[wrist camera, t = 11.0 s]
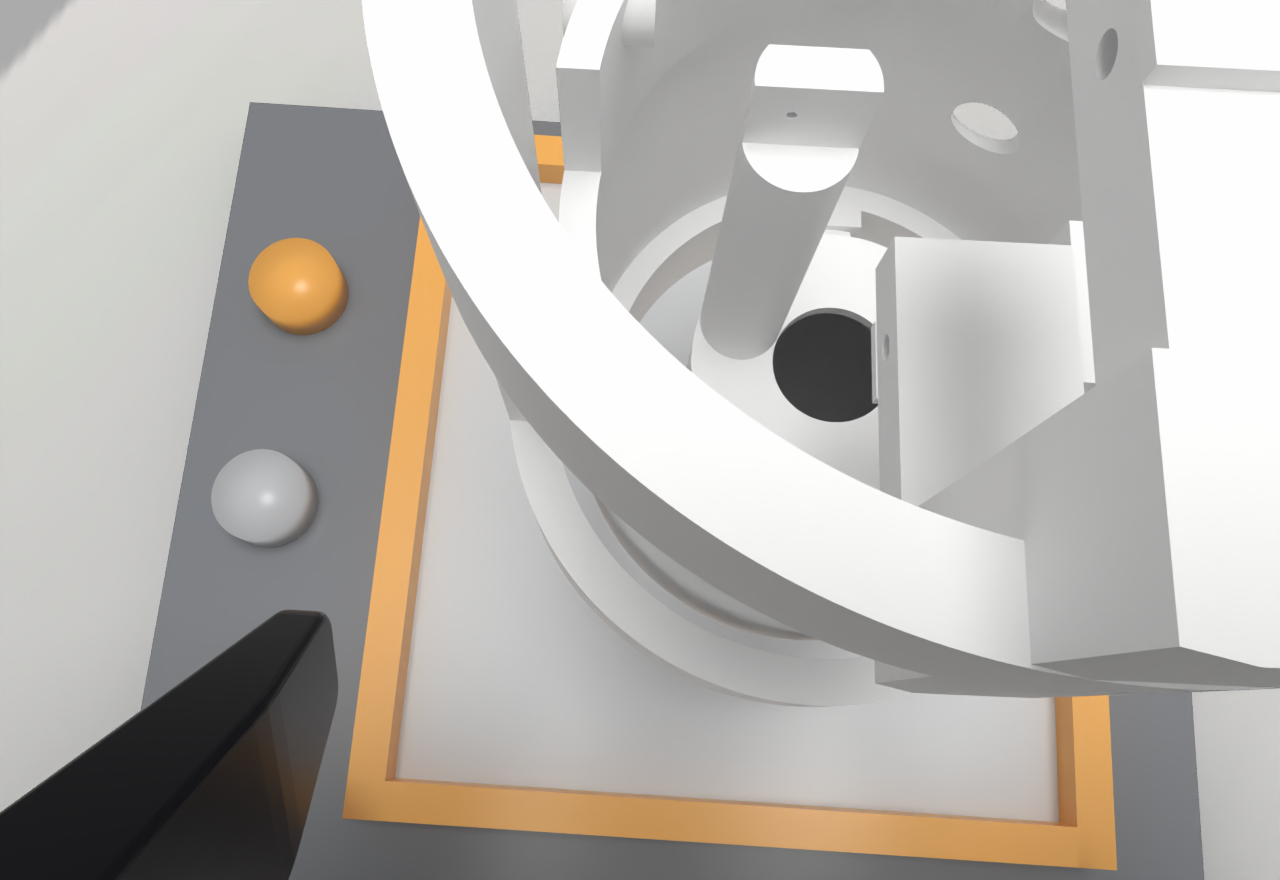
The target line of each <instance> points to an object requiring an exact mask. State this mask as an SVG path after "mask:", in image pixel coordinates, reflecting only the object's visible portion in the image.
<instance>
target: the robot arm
mask: <svg viewBox="0 0 1280 880" xmlns="http://www.w3.org/2000/svg"><path fill="white" fill-rule="evenodd" d="M338 686H339V682H338V672H337V664H336V656H335V648H334V639H333V631H332V625H331V622H330V619H329V617H328V616H327V615H326V614H325V613H323V612H320V611H306V610H291V609H288V610H282V611H279V612H277V613H276V614H274V615H273V616H271V617H270V618H268V619H267V620H266V621H264V622H263V623H261V624H260V625H259V626H257V627H256V628H255V629H253V630H252V631H250V632H249V633H248V634H246V635H245V636H243V637H242V638H241V639H239V640H238V641H237V642H235V643H234V644H232V645H231V646H230V647H228V648H227V649H226V650H224V651H223V652H221V653H220V654H219V655H217V656H216V657H214V658H213V659H212V660H210V661H209V662H208V663H206V664H205V665H203V666H202V667H201V668H199V669H198V670H197V671H195V672H194V673H192V674H191V675H190V676H188V677H187V678H185V679H184V680H183V681H181V682H180V683H179V684H177V685H176V686H174V687H173V688H172V689H170V690H169V691H167V692H166V693H165V694H163V695H162V696H161V697H159V698H158V699H156V700H155V701H154V702H152V703H151V704H150V705H148V706H147V707H145V708H144V709H143V710H141V711H140V712H138V713H137V714H136V715H134V716H133V717H132V718H130V719H129V720H127V721H126V722H125V723H123V724H122V725H120V726H119V727H118V728H116V729H115V730H114V731H112V732H111V733H109V734H108V735H107V736H105V737H104V738H103V739H101V740H100V741H98V742H97V743H96V744H94V745H93V746H91V747H90V748H89V749H87V750H86V751H85V752H83V753H82V754H80V755H79V756H78V757H76V758H75V759H73V760H72V761H71V762H69V763H68V764H67V765H65V766H64V767H62V768H61V769H60V770H58V771H57V772H56V773H54V774H53V775H51V776H50V777H49V778H47V779H46V780H44V781H43V782H42V783H40V784H39V785H38V786H36V787H35V788H33V789H32V790H31V791H29V792H28V793H26V794H25V795H24V796H22V797H21V798H20V799H18V800H17V801H15V802H14V803H13V804H11V805H10V806H9V807H7V808H6V809H4V810H3V811H2V812H0V880H289V877H290V874H291V872H292V869H293V866H294V863H295V860H296V856H297V853H298V849H299V846H300V842H301V839H302V835H303V831H304V827H305V823H306V820H307V816H308V812H309V808H310V804H311V801H312V797H313V793H314V789H315V785H316V782H317V778H318V774H319V770H320V766H321V763H322V759H323V755H324V751H325V747H326V744H327V740H328V736H329V732H330V728H331V725H332V721H333V717H334V713H335V709H336V705H337V699H338Z"/></svg>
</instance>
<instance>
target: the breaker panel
mask: <svg viewBox="0 0 1280 880" xmlns="http://www.w3.org/2000/svg"><path fill="white" fill-rule="evenodd" d="M532 125H533V132H534V140H535V147H536V155H537V162H538V170H539V178H540V185H541V193H542V196H543V198H544V200H545V202H546V203H547V205H548V206H549V208H550V210H551V211H552V213H553V214H554V216H555V218H556V219H557V221H558V222H559V207H560V196H561V188H562V181H563V175H564V159H563V147H562V135H561V123H560V122H546V121H532ZM712 262H713V260H712V261H709V262H707V263H705V264H704V265H702V266H700V267H698V268H696V269H695V270H693V271H691V272H690V273H688V274H687V275H685V276H684V277H683V278H681V279H680V280H679V281H677V282H676V283H675V284H674V285H672V286H671V287H670V288H669V289H668V290H667V291H666V292H665V293H664V294H662V295H661V296H660V298H659V299H658V300H657V301H656V302H655V303H654V304H653V305H652V306H651V308H650V309H649V310H648V311H647V313H646V314H645V315H644V317H643V318H642V320H641V321H640V324H641V325H642V326H643V327H644V328H645V329H646V330H647V331H648V332H649V333H650V334H651V335H652V336H653V337H654V338H655V339H656V340H657V341H658V342H659V343H660V344H661V345H662V346H663V347H664V348H665V349H666V350H667V351H668V352H669V353H671V354H672V355H673V356H674V357H675V358H676V359H677V360H678V361H679V362H681V363H682V364H683V365H684V366H685V367H686V368H687V365H688V360H689V356H690V351H691V346H692V342H693V337H694V333H695V329H696V325H697V322H698V319H699V316H700V314H701V311H702V306H703V302H704V297H705V293H706V288H707V284H708V279H709V275H710V271H711V266H712ZM562 463H563V462H562ZM563 466H564V469H565V472H566V475H567V478H568V481H569V483H570V486H571V488H572V491H573V493H574V495H575V498H576V500H577V502H578V504H579V506H580V508H581V510H582V512H583V513H584V515H585V517H586V519H587V521H588V522H589V524H590V526H591V527H592V529H593V530H594V532H595V533H596V535H597V536H598V538H599V539H600V541H601V542H602V543H603V545H604V546H605V548H606V549H607V550H608V551H609V553H610V554H611V555H612V556H613V558H614V559H615V560H616V561H617V562H618V563H619V565H620V566H621V567H622V568H623V569H624V570H625V571H626V572H627V573H628V574H629V575H630V576H631V577H632V578H633V579H634V580H635V581H636V582H637V583H638V584H639V585H640V586H641V587H643V588H644V589H645V590H646V591H647V592H648V593H650V594H651V595H652V596H653V597H654V598H656V599H657V600H658V601H660V602H661V603H662V604H664V605H665V606H666V607H668V608H669V609H671V610H672V611H674V612H675V613H677V614H678V615H680V616H681V617H683V618H685V619H686V620H688V621H690V622H692V623H693V624H695V625H697V626H699V627H701V628H703V629H705V630H707V631H709V632H711V633H713V634H715V635H718V636H720V637H722V638H725V639H727V640H730V641H733V642H735V643H738V644H741V645H744V646H747V647H751V648H754V649H758V650H762V651H766V652H770V653H775V654H780V655H786V656H792V657H801V658H812V659H848V658H860V657H864V656H861V655H858V654H855V653H852V652H849V651H847V650H844V649H841V648H838V647H836V646H833V645H831V644H828V643H826V642H823V641H821V640H789V639H780V638H773V637H767V636H762V635H758V634H754V633H750V632H746V631H743V630H740V629H737V628H734V627H731V626H728V625H726V624H723V623H721V622H718V621H716V620H714V619H712V618H709V617H707V616H705V615H703V614H701V613H700V612H698V611H696V610H694V609H692V608H691V607H689V606H687V605H686V604H684V603H683V602H681V601H680V600H678V599H677V598H675V597H674V596H672V595H671V594H670V593H668V592H667V591H666V590H665V589H663V588H662V587H661V586H660V585H658V584H657V583H656V582H655V581H654V580H653V579H652V578H651V577H649V576H648V575H647V574H646V573H645V572H644V571H643V570H642V569H641V568H640V567H639V565H638V564H637V563H636V562H635V561H634V560H633V559H632V558H631V556H630V555H629V554H628V553H627V552H626V550H625V549H624V548H623V546H622V545H621V544H620V542H619V541H618V539H617V538H616V536H615V535H614V533H613V532H612V530H611V528H610V527H609V525H608V523H607V522H606V520H605V518H604V516H603V514H602V512H601V510H600V508H599V506H598V504H597V501H596V499H595V497H594V494H593V493H592V492H591V491H590V490H589V489H588V488H587V487H586V486H585V485H584V484H583V483H582V482H581V481H580V480H579V479H578V478H577V477H576V476H575V475H574V474H573V473H572V472H571V471H570V470H569V469H568V468H567V467H566V466H565V465H564V463H563ZM288 609H291V610H306V611H320V612H323V613H325V614H326V615H327V616H328V617H329V619H330V622H331V625H332V631H333V639H334V648H335V656H336V664H337V672H338V682H339V686H338V699H337V705H336V709H335V713H334V717H333V721H332V725H331V728H330V732H329V736H328V740H327V744H326V747H325V751H324V755H323V759H322V763H321V766H320V770H319V774H318V778H317V782H316V785H315V789H314V793H313V797H312V801H311V804H310V808H309V812H308V816H307V820H306V823H305V827H304V831H303V835H302V839H301V842H300V846H299V849H298V853H297V856H296V860H295V863H294V866H293V869H292V872H291V874H290V877H289V880H1204V870H1203V855H1202V840H1201V825H1200V811H1199V796H1198V781H1197V766H1196V752H1195V737H1194V722H1193V707H1192V693H1191V692H1179V693H1154V694H1129V695H1099V696H1074V697H1050V698H1017V697H994V696H970V695H947V694H924V693H920V694H916V695H913V696H909V697H905V698H901V699H896V700H891V701H886V702H880V703H872V704H864V705H852V706H828V707H797V706H784V705H775V704H768V703H762V702H757V701H752V700H747V699H743V698H739V697H735V696H731V695H728V694H725V693H722V692H719V691H716V690H713V689H710V688H707V687H705V686H702V685H700V684H697V683H695V682H693V681H690V680H688V679H686V678H684V677H682V676H680V675H678V674H676V673H674V672H672V671H670V670H668V669H667V668H665V667H663V666H661V665H660V664H658V663H656V662H655V661H653V660H652V659H650V658H649V657H647V656H645V655H644V654H643V653H641V652H640V651H638V650H637V649H636V648H634V647H633V646H632V645H630V644H629V643H628V642H626V641H625V640H624V639H623V638H621V637H620V636H619V635H618V634H617V633H616V632H614V631H613V630H612V629H611V628H610V627H609V626H608V625H607V624H606V623H605V622H604V621H603V620H602V619H601V618H600V617H599V616H598V615H597V614H596V613H595V612H594V611H593V610H592V609H591V608H590V607H589V606H588V604H587V603H586V602H585V601H584V600H583V598H582V597H581V596H580V595H579V594H578V592H577V591H576V590H575V588H574V587H573V586H572V584H571V583H570V582H569V580H568V579H567V577H566V576H565V574H564V573H563V571H562V570H561V568H560V567H559V565H558V563H557V562H556V560H555V558H554V556H553V555H552V553H551V551H550V549H549V547H548V545H547V543H546V541H545V539H544V537H543V535H542V533H541V530H540V528H539V526H538V523H537V521H536V518H535V516H534V513H533V510H532V508H531V505H530V503H529V500H528V497H527V494H526V492H525V489H524V486H523V483H522V479H521V476H520V472H519V469H518V465H517V460H516V456H515V451H514V446H513V439H512V432H511V423H510V418H509V415H508V412H507V409H506V406H505V403H504V400H503V398H502V395H501V392H500V389H499V386H498V383H497V380H496V377H495V374H494V373H493V371H492V370H491V368H490V366H489V365H488V363H487V362H486V360H485V358H484V357H483V355H482V353H481V352H480V350H479V348H478V346H477V345H476V343H475V341H474V339H473V337H472V335H471V334H470V332H469V330H468V328H467V326H466V324H465V322H464V320H463V318H462V316H461V314H460V312H459V310H458V308H457V305H456V303H455V300H454V298H453V296H452V293H451V291H450V289H449V286H448V284H447V282H446V279H445V277H444V274H443V272H442V270H441V267H440V265H439V262H438V260H437V257H436V255H435V252H434V250H433V247H432V245H431V242H430V240H429V237H428V234H427V232H426V229H425V226H424V224H423V221H422V218H421V216H420V213H419V211H418V208H417V205H416V203H415V200H414V197H413V195H412V192H411V190H410V187H409V184H408V182H407V179H406V176H405V174H404V171H403V168H402V166H401V163H400V161H399V158H398V155H397V153H396V150H395V147H394V144H393V141H392V138H391V135H390V133H389V129H388V126H387V123H386V120H385V117H384V113H383V111H376V110H361V109H346V108H330V107H315V106H300V105H284V104H269V103H253V102H250V106H249V111H248V117H247V122H246V128H245V134H244V139H243V145H242V150H241V156H240V161H239V167H238V172H237V178H236V184H235V189H234V195H233V200H232V206H231V211H230V217H229V222H228V228H227V234H226V239H225V245H224V250H223V256H222V261H221V267H220V272H219V278H218V284H217V289H216V295H215V300H214V306H213V311H212V317H211V322H210V328H209V333H208V339H207V345H206V350H205V356H204V361H203V367H202V372H201V378H200V383H199V389H198V395H197V400H196V406H195V411H194V417H193V422H192V428H191V433H190V439H189V445H188V450H187V456H186V461H185V467H184V472H183V478H182V483H181V489H180V495H179V500H178V506H177V511H176V517H175V522H174V528H173V533H172V539H171V545H170V550H169V556H168V561H167V567H166V572H165V578H164V583H163V589H162V595H161V600H160V606H159V611H158V617H157V622H156V628H155V633H154V639H153V644H152V650H151V656H150V661H149V667H148V672H147V678H146V683H145V689H144V694H143V700H142V706H141V710H143V709H144V708H145V707H147V706H148V705H150V704H151V703H152V702H154V701H155V700H156V699H158V698H159V697H161V696H162V695H163V694H165V693H166V692H167V691H169V690H170V689H172V688H173V687H174V686H176V685H177V684H179V683H180V682H181V681H183V680H184V679H185V678H187V677H188V676H190V675H191V674H192V673H194V672H195V671H197V670H198V669H199V668H201V667H202V666H203V665H205V664H206V663H208V662H209V661H210V660H212V659H213V658H214V657H216V656H217V655H219V654H220V653H221V652H223V651H224V650H226V649H227V648H228V647H230V646H231V645H232V644H234V643H235V642H237V641H238V640H239V639H241V638H242V637H243V636H245V635H246V634H248V633H249V632H250V631H252V630H253V629H255V628H256V627H257V626H259V625H260V624H261V623H263V622H264V621H266V620H267V619H268V618H270V617H271V616H273V615H274V614H276V613H277V612H279V611H282V610H288Z"/></svg>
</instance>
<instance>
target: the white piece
mask: <svg viewBox="0 0 1280 880" xmlns="http://www.w3.org/2000/svg"><path fill="white" fill-rule="evenodd" d="M362 9H363V18H364V25H365V32H366V39H367V45H368V50H369V56H370V61H371V66H372V70H373V75H374V79H375V83H376V88H377V91H378V95H379V99H380V103H381V106H382V110H383V113H384V117H385V120H386V123H387V126H388V129H389V133H390V135H391V138H392V141H393V144H394V147H395V150H396V153H397V155H398V158H399V161H400V163H401V166H402V168H403V171H404V174H405V176H406V179H407V182H408V184H409V187H410V190H411V192H412V195H413V197H414V200H415V203H416V205H417V208H418V211H419V213H420V216H421V218H422V221H423V224H424V226H425V229H426V232H427V234H428V237H429V240H430V242H431V245H432V247H433V250H434V252H435V255H436V257H437V260H438V262H439V265H440V267H441V270H442V272H443V274H444V277H445V279H446V282H447V284H448V286H449V289H450V291H451V293H452V296H453V298H454V300H455V303H456V305H457V308H458V310H459V312H460V314H461V316H462V318H463V320H464V322H465V324H466V326H467V328H468V330H469V332H470V334H471V335H472V337H473V339H474V341H475V343H476V345H477V346H478V348H479V350H480V352H481V353H482V355H483V357H484V358H485V360H486V362H487V363H488V365H489V366H490V368H491V370H492V371H493V373H494V374H495V377H496V380H497V383H498V386H499V389H500V392H501V395H502V398H503V400H504V403H505V406H506V409H507V412H508V415H509V418H510V423H511V432H512V439H513V446H514V451H515V456H516V460H517V465H518V469H519V472H520V476H521V479H522V483H523V486H524V489H525V492H526V494H527V497H528V500H529V503H530V505H531V508H532V510H533V513H534V516H535V518H536V521H537V523H538V526H539V528H540V530H541V533H542V535H543V537H544V539H545V541H546V543H547V545H548V547H549V549H550V551H551V553H552V555H553V556H554V558H555V560H556V562H557V563H558V565H559V567H560V568H561V570H562V571H563V573H564V574H565V576H566V577H567V579H568V580H569V582H570V583H571V584H572V586H573V587H574V588H575V590H576V591H577V592H578V594H579V595H580V596H581V597H582V598H583V600H584V601H585V602H586V603H587V604H588V606H589V607H590V608H591V609H592V610H593V611H594V612H595V613H596V614H597V615H598V616H599V617H600V618H601V619H602V620H603V621H604V622H605V623H606V624H607V625H608V626H609V627H610V628H611V629H612V630H613V631H614V632H616V633H617V634H618V635H619V636H620V637H621V638H623V639H624V640H625V641H626V642H628V643H629V644H630V645H632V646H633V647H634V648H636V649H637V650H638V651H640V652H641V653H643V654H644V655H645V656H647V657H649V658H650V659H652V660H653V661H655V662H656V663H658V664H660V665H661V666H663V667H665V668H667V669H668V670H670V671H672V672H674V673H676V674H678V675H680V676H682V677H684V678H686V679H688V680H690V681H693V682H695V683H697V684H700V685H702V686H705V687H707V688H710V689H713V690H716V691H719V692H722V693H725V694H728V695H731V696H735V697H739V698H743V699H747V700H752V701H757V702H762V703H768V704H775V705H784V706H797V707H828V706H852V705H864V704H872V703H880V702H886V701H891V700H896V699H901V698H905V697H909V696H913V695H916V694H920V693H924V694H947V695H970V696H994V697H1017V698H1050V697H1074V696H1099V695H1129V694H1154V693H1179V692H1204V691H1229V690H1254V689H1276V688H1280V0H1066V10H1063V9H1060V8H1058V7H1055V6H1053V5H1051V4H1050V3H1048V2H1046V1H1045V0H562V19H563V41H562V45H561V48H560V52H559V56H558V60H557V64H556V76H557V87H558V99H559V111H560V123H561V135H562V147H563V159H564V175H563V181H562V188H561V196H560V207H559V222H558V221H557V219H556V218H555V216H554V214H553V213H552V211H551V210H550V208H549V206H548V205H547V203H546V202H545V200H544V198H543V196H542V193H541V185H540V178H539V170H538V162H537V155H536V147H535V140H534V132H533V125H532V117H531V109H530V102H529V94H528V87H527V79H526V71H525V64H524V56H523V49H522V41H521V33H520V26H519V18H518V11H517V3H516V0H362ZM969 102H977V103H983V104H986V105H989V106H992V107H994V108H996V109H998V110H999V111H1001V112H1002V113H1003V114H1005V115H1006V116H1007V117H1008V118H1009V119H1010V120H1011V121H1012V123H1013V124H1014V125H1015V127H1016V129H1017V131H1018V133H1017V135H1016V136H1015V137H1013V138H1012V139H1008V140H996V139H991V138H988V137H985V136H982V135H980V134H978V133H976V132H974V131H972V130H970V129H969V128H967V127H966V126H964V125H963V124H962V123H961V122H960V121H959V120H958V119H957V118H956V117H955V116H954V114H953V110H954V109H955V108H956V107H957V106H959V105H961V104H964V103H969ZM712 260H713V262H712V266H711V271H710V275H709V279H708V284H707V288H706V293H705V297H704V302H703V306H702V311H701V314H700V316H699V319H698V322H697V325H696V329H695V333H694V337H693V342H692V346H691V351H690V356H689V360H688V365H687V368H686V367H685V366H684V365H683V364H682V363H681V362H679V361H678V360H677V359H676V358H675V357H674V356H673V355H672V354H671V353H669V352H668V351H667V350H666V349H665V348H664V347H663V346H662V345H661V344H660V343H659V342H658V341H657V340H656V339H655V338H654V337H653V336H652V335H651V334H650V333H649V332H648V331H647V330H646V329H645V328H644V327H643V326H642V325H641V324H640V321H641V320H642V318H643V317H644V315H645V314H646V313H647V311H648V310H649V309H650V308H651V306H652V305H653V304H654V303H655V302H656V301H657V300H658V299H659V298H660V296H661V295H662V294H664V293H665V292H666V291H667V290H668V289H669V288H670V287H671V286H672V285H674V284H675V283H676V282H677V281H679V280H680V279H681V278H683V277H684V276H685V275H687V274H688V273H690V272H691V271H693V270H695V269H696V268H698V267H700V266H702V265H704V264H705V263H707V262H709V261H712ZM562 462H563V463H564V465H565V466H566V467H567V468H568V469H569V470H570V471H571V472H572V473H573V474H574V475H575V476H576V477H577V478H578V479H579V480H580V481H581V482H582V483H583V484H584V485H585V486H586V487H587V488H588V489H589V490H590V491H591V492H592V493H593V494H594V497H595V499H596V501H597V504H598V506H599V508H600V510H601V512H602V514H603V516H604V518H605V520H606V522H607V523H608V525H609V527H610V528H611V530H612V532H613V533H614V535H615V536H616V538H617V539H618V541H619V542H620V544H621V545H622V546H623V548H624V549H625V550H626V552H627V553H628V554H629V555H630V556H631V558H632V559H633V560H634V561H635V562H636V563H637V564H638V565H639V567H640V568H641V569H642V570H643V571H644V572H645V573H646V574H647V575H648V576H649V577H651V578H652V579H653V580H654V581H655V582H656V583H657V584H658V585H660V586H661V587H662V588H663V589H665V590H666V591H667V592H668V593H670V594H671V595H672V596H674V597H675V598H677V599H678V600H680V601H681V602H683V603H684V604H686V605H687V606H689V607H691V608H692V609H694V610H696V611H698V612H700V613H701V614H703V615H705V616H707V617H709V618H712V619H714V620H716V621H718V622H721V623H723V624H726V625H728V626H731V627H734V628H737V629H740V630H743V631H746V632H750V633H754V634H758V635H762V636H767V637H773V638H780V639H789V640H821V641H823V642H826V643H828V644H831V645H833V646H836V647H838V648H841V649H844V650H847V651H849V652H852V653H855V654H858V655H861V656H864V657H860V658H848V659H812V658H801V657H792V656H786V655H780V654H775V653H770V652H766V651H762V650H758V649H754V648H751V647H747V646H744V645H741V644H738V643H735V642H733V641H730V640H727V639H725V638H722V637H720V636H718V635H715V634H713V633H711V632H709V631H707V630H705V629H703V628H701V627H699V626H697V625H695V624H693V623H692V622H690V621H688V620H686V619H685V618H683V617H681V616H680V615H678V614H677V613H675V612H674V611H672V610H671V609H669V608H668V607H666V606H665V605H664V604H662V603H661V602H660V601H658V600H657V599H656V598H654V597H653V596H652V595H651V594H650V593H648V592H647V591H646V590H645V589H644V588H643V587H641V586H640V585H639V584H638V583H637V582H636V581H635V580H634V579H633V578H632V577H631V576H630V575H629V574H628V573H627V572H626V571H625V570H624V569H623V568H622V567H621V566H620V565H619V563H618V562H617V561H616V560H615V559H614V558H613V556H612V555H611V554H610V553H609V551H608V550H607V549H606V548H605V546H604V545H603V543H602V542H601V541H600V539H599V538H598V536H597V535H596V533H595V532H594V530H593V529H592V527H591V526H590V524H589V522H588V521H587V519H586V517H585V515H584V513H583V512H582V510H581V508H580V506H579V504H578V502H577V500H576V498H575V495H574V493H573V491H572V488H571V486H570V483H569V481H568V478H567V475H566V472H565V469H564V466H563V463H562Z"/></svg>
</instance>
